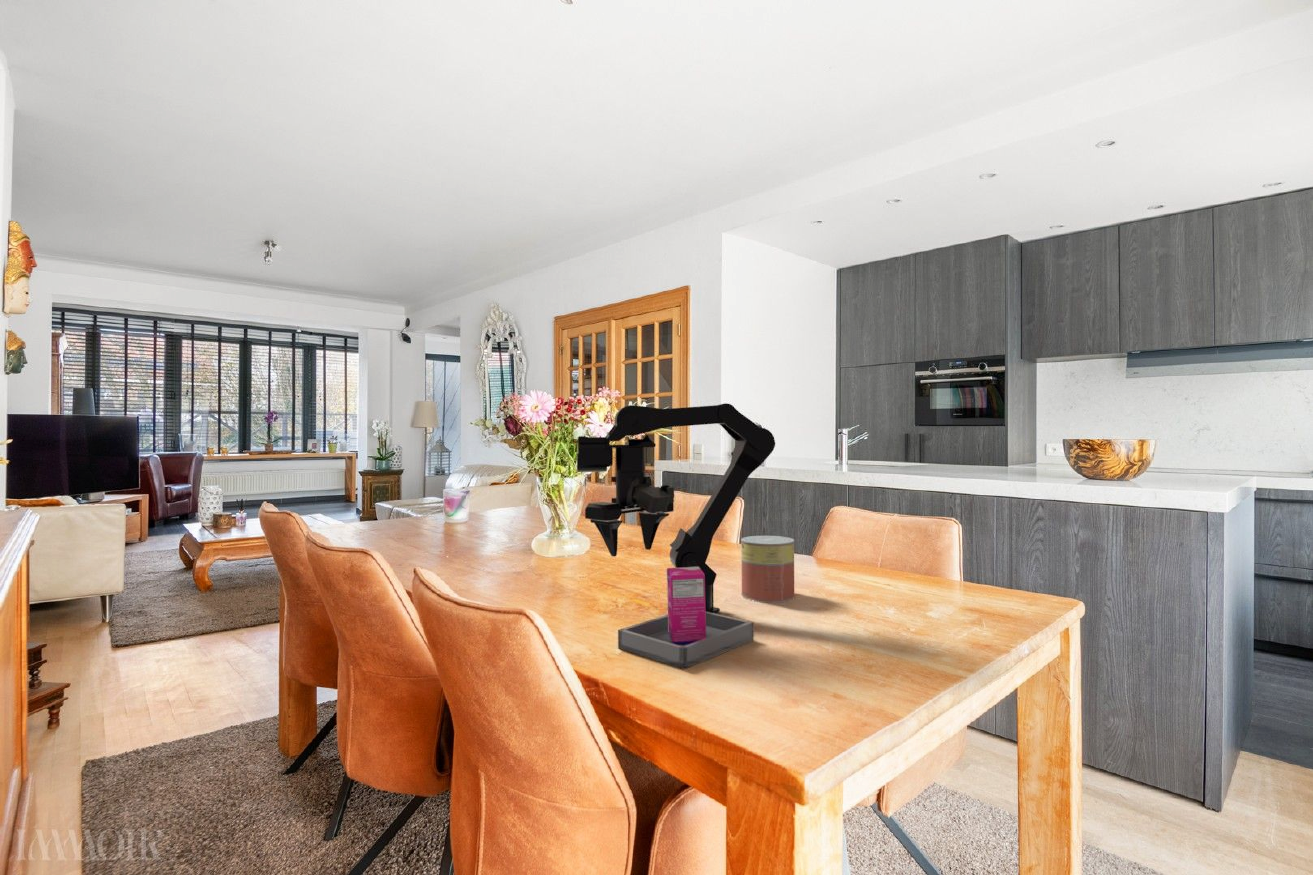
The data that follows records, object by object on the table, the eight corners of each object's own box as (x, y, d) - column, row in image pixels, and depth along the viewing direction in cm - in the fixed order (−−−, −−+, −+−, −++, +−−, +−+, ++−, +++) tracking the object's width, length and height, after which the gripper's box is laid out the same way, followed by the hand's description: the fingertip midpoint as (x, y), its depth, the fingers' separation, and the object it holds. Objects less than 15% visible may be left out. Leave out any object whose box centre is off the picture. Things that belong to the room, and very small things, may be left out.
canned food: (756, 586, 148) (755, 533, 148) (803, 593, 142) (803, 538, 141) (731, 597, 139) (731, 540, 139) (780, 605, 132) (780, 545, 132)
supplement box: (666, 634, 111) (666, 566, 111) (701, 633, 112) (700, 566, 112) (670, 645, 105) (670, 574, 105) (707, 644, 106) (706, 573, 106)
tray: (689, 623, 120) (689, 607, 120) (753, 640, 110) (753, 622, 110) (618, 648, 107) (618, 629, 107) (683, 669, 97) (683, 648, 97)
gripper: (624, 475, 113) (625, 566, 113) (694, 470, 127) (695, 550, 127) (582, 473, 121) (583, 557, 121) (652, 468, 135) (653, 544, 135)
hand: (631, 552), depth 126 cm, fingers open, 9 cm apart
